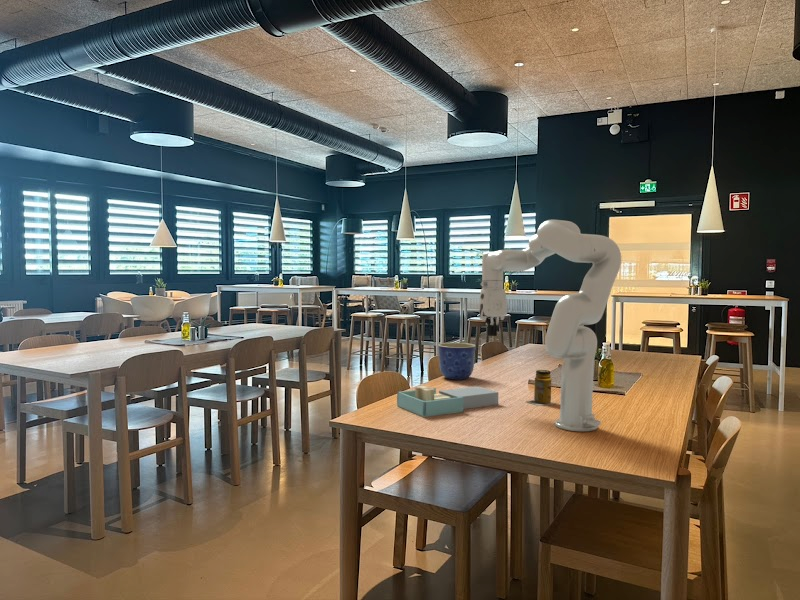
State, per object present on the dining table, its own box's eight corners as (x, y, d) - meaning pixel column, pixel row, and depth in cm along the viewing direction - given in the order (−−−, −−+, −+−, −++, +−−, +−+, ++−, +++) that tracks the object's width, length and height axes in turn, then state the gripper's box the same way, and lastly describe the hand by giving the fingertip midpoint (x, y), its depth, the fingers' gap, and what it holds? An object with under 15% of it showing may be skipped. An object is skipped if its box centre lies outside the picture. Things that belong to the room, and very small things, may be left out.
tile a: (450, 407, 199) (450, 397, 199) (433, 409, 196) (433, 399, 196) (439, 403, 205) (439, 393, 205) (423, 405, 202) (423, 395, 202)
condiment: (555, 403, 209) (556, 371, 209) (540, 406, 205) (540, 373, 204) (541, 399, 215) (541, 368, 215) (525, 402, 211) (525, 370, 210)
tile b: (434, 389, 195) (425, 390, 193) (434, 409, 195) (425, 410, 194) (423, 385, 201) (415, 386, 199) (423, 405, 201) (415, 406, 200)
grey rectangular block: (498, 404, 206) (498, 392, 206) (458, 409, 197) (458, 397, 197) (477, 398, 217) (478, 386, 216) (438, 402, 208) (439, 390, 208)
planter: (435, 380, 251) (436, 346, 250) (439, 374, 268) (440, 342, 267) (474, 382, 248) (474, 347, 248) (475, 375, 265) (476, 343, 264)
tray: (463, 411, 195) (463, 397, 195) (423, 417, 187) (424, 402, 187) (434, 401, 210) (434, 387, 210) (397, 405, 202) (397, 392, 202)
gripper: (483, 285, 198) (483, 337, 199) (515, 285, 206) (514, 335, 207) (469, 285, 205) (469, 335, 205) (501, 285, 213) (500, 334, 213)
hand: (492, 335), depth 206 cm, fingers closed
